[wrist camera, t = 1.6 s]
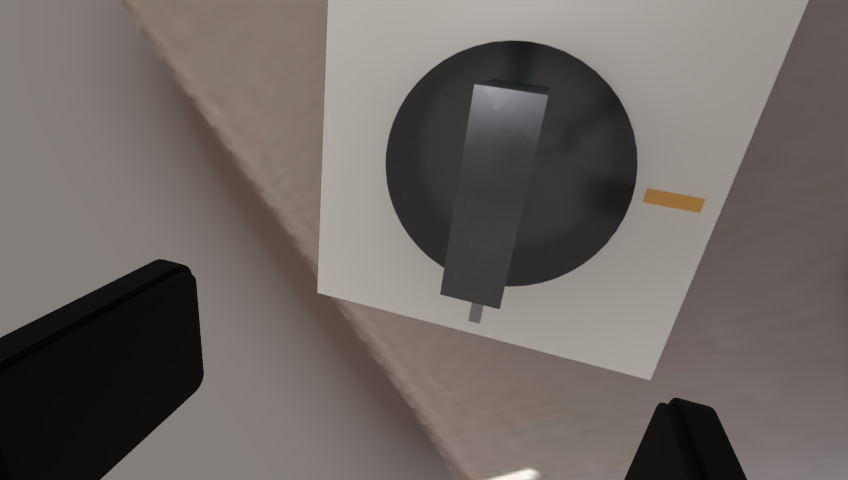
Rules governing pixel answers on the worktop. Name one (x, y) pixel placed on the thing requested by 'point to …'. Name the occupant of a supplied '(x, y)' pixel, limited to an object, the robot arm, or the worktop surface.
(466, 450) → the worktop surface
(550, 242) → the dial
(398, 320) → the worktop surface
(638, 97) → the dial plate
